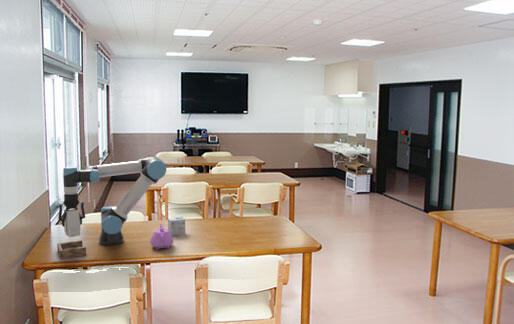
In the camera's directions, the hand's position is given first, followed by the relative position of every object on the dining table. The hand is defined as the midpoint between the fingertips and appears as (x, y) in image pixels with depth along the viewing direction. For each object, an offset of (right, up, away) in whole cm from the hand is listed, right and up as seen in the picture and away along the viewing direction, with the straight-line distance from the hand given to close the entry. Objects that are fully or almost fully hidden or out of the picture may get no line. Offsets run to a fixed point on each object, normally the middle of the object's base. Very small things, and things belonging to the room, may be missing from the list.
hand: (72, 230), depth 254 cm
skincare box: (0, -3, 0) cm, 3 cm away
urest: (-1, -13, +1) cm, 13 cm away
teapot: (+50, -13, +16) cm, 54 cm away
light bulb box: (+54, -9, +41) cm, 69 cm away
